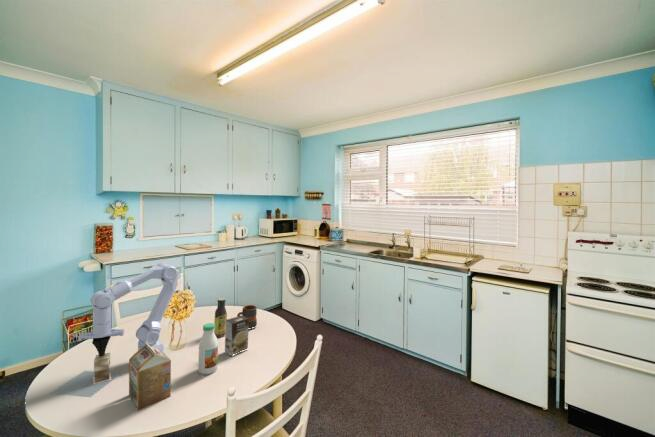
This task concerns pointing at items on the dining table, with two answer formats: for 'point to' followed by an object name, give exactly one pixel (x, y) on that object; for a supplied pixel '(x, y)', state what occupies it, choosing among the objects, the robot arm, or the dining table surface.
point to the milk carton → (149, 377)
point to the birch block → (102, 362)
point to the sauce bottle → (220, 318)
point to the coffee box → (236, 334)
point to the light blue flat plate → (83, 385)
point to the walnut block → (101, 375)
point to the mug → (250, 314)
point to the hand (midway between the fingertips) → (102, 355)
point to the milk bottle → (208, 350)
